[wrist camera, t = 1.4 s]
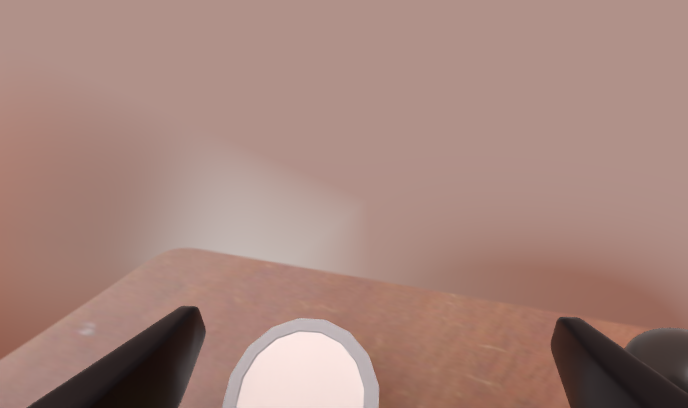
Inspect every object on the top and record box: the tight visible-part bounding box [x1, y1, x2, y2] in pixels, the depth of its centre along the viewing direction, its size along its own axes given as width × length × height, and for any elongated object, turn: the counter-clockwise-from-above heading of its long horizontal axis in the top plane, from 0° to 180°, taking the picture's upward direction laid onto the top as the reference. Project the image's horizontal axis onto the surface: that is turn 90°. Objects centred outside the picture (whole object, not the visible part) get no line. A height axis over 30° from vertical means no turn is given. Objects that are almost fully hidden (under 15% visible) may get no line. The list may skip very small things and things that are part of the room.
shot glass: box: [222, 318, 379, 408], centre depth 17 cm, size 7×7×7 cm
